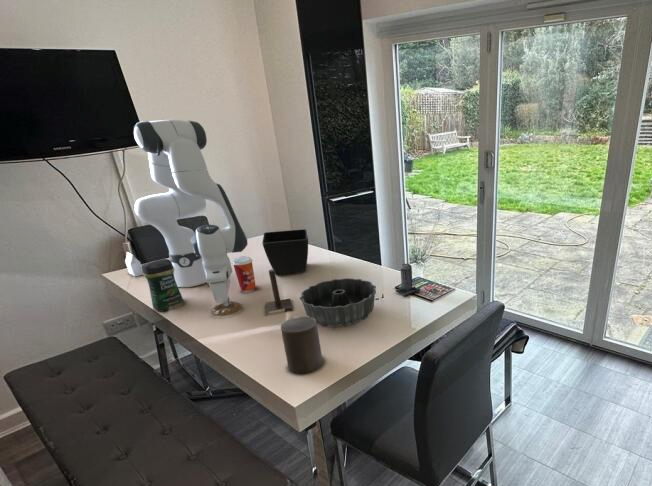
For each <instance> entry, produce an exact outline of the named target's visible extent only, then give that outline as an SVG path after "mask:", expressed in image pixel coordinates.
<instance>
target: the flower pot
mask: <svg viewBox="0 0 652 486" xmlns="http://www.w3.org/2000/svg"><path fill="white" fill-rule="evenodd" d="M307 231H308V230H307V228H306V229H305V228H303V229H289V230H279V231H266V232H263V237H262V242H261V244H262V247H263V250H264V253H265V255H266V258H267V260H268V262H269V264H270V267H271V268H272V269H271V270H275V276H284V275H294V274H302V273H305V272H306V271H307V265H308V258H309V257H308V256H309V237H308V232H307Z"/></svg>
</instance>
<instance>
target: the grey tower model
mask: <svg viewBox="0 0 652 486" xmlns="http://www.w3.org/2000/svg"><path fill="white" fill-rule="evenodd" d="M400 278H401V280H400V282H401V283H400V284H401V288H398V289H395V292H396V293H397V294H399V295H401V296H403V297H408V296H409V295H411V294H412V295H414V294H417V293H420V291H421V288H417V287H416V286H413V267H412V265H411V264H410V263H403V264H401V266H400Z"/></svg>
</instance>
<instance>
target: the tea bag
mask: <svg viewBox="0 0 652 486" xmlns="http://www.w3.org/2000/svg"><path fill="white" fill-rule="evenodd" d="M124 263H125V265H126V269H127V271H128V274H129V275H131V276H133V277H138V276H142V275H143V272H142V263H141V261H140V260H138V258H137V257H136V256H135V255H134V254H133V253H131V252H129V251H126V255H125V259H124Z"/></svg>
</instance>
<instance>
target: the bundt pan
mask: <svg viewBox="0 0 652 486" xmlns="http://www.w3.org/2000/svg"><path fill="white" fill-rule="evenodd" d="M376 294H377V286H376V285H374V284H373V282H372V281H369V280H363V279H362V278H353V277H352V278H351V277H346V278H333V279H331V280H324V281H320V282H318V283H315V285H310V286H308V288H306V289H304V290H303V291H302V292H301V295H300V296H299V300H300V301H301V303H302V306H303V308H304V312H305V314H306V316H307V317H311V318H315V319H316V323H317V325H320V326H321V327H331V328H338V327H340V326H343V327H347V326H348V325H349V324H351V325H353V324H354V325H355V324H357V323H359V322H360V321H363V320H364V321H365V320H366V319H367V318H368V317H369V315H370V314H371V313H372V312H373V311H374V308H375V296H376Z"/></svg>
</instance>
